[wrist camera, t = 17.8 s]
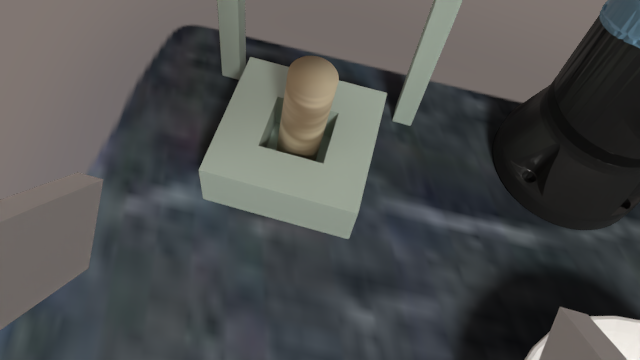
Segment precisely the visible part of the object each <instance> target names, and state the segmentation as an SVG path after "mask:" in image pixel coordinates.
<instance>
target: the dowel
mask: <svg viewBox="0 0 640 360" xmlns="http://www.w3.org/2000/svg"><path fill="white" fill-rule="evenodd" d="M338 81H339V76H338V72H337V70H336V69H335V67H334V66H333V65H332V64H331V63H330V62H329V61H327V60H325V59H323V58H321V57H317V56H304V57H301V58H298V59H296V60H295V61H294V62H293V63H292V64H291V65H290V67H289V69H288V74H287V81H286V88H285V94H284V101H283V108H282V115H281V121H280V128H279V135H278V142H277V149H276V151H279V152H283V153H287V154H290V155H294V156H298V157H301V158H305V159H309V160H312V161H316V158H317V154H318V151H319V148H320V144H321V141H322V137H323V134H324V130H325V127H326V123H327V120H328V116H329V113H330V110H331V106H332V103H333V99H334V96H335V92H336V89H337V85H338Z"/></svg>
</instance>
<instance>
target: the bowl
mask: <svg viewBox="0 0 640 360" xmlns="http://www.w3.org/2000/svg"><path fill="white" fill-rule="evenodd" d="M589 317H590V318H591V319H592V320H593V321H594V322H595V323H596V325H597V326H598V327H599V328H600V329H601V330H602V331H603V333H604V334H605V335H606V336H607V337H608V338H609V339H610V340H611V342H612V343H613V344H614V345H615V346H616V347H617V348H618V350H619V351H620V352H621V353H622V354H623V355H624V356H625V358H626V359H627V360H640V320H635V319H630V318H624V317H619V316H589ZM549 333H550V332H548V333H547V334H546V335H545V336H544V337H543V338H542V339H541V340H540V341H539V342H538V343H536V344H535V345H534V346H533V347H532V349H531V350H530V352H529V353H528V355H527V356H526V358H525V359H524V360H539V358H540V356H541V353H542V351H543V348H544V346H545V343H546V341H547V338H548V336H549Z"/></svg>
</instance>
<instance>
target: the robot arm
mask: <svg viewBox="0 0 640 360" xmlns="http://www.w3.org/2000/svg"><path fill="white" fill-rule="evenodd" d="M493 158H494V163H495V166H496V169H497V172H498V174H499V176H500V178H501V180H502V182H503V184H504V185H505V187H506V188H507V189H508V191H509V192H510V193H511V194H512V196H513V197H514V198H515V199H516V200H517V201H518V202H519V203H521V204H522V205H523V206H524V207H525V208H527V209H528V210H529V211H531V212H532V213H534V214H535V215H537V216H539V217H540V218H542V219H544V220H546V221H548V222H551V223H553V224H556V225H559V226H562V227H566V228H570V229H577V230H594V229H600V228H604V227H607V226H610V225H612V224H614V223H615V222H617V221H618V220H620V219H621V218H622V217H623V216H625V215H626V214H627V213H629V212H630V211H631V210H632V209H633V208H634V207H635V206H636V205H637V204H638V203H639V201H640V0H608V1H607V2H606V3H605V4H604V6H603V7H602V10H601V12H600V15H599V16H598V18H597V19H596V21H595V22H594V24H593V25H592V27H591V28H590V29H589V31H588V32H587V34H586V35H585V37H584V38H583V39H582V41H581V42H580V44H579V45H578V46H577V48H576V50H575V51H574V52H573V54H572V55H571V57H570V58H569V59H568V61H567V62H566V64H565V65H564V66H563V68H562V69H561V71H560V72H559V74H558V75H557V77H556V78H555V80H554V81H553V82H552V84H551V85H549V86H548V87H547V88H545V89H543V90H542V91H540V92H539V93H537V94H536V95H535V96H533V97H531V98H530V99H529V100H527V101H526V102H524V103H522V104H520V105H519V106H518V107H516V108H515V109H514V110H513V111H512V112H511V113H510V114H509V115H508V116H507V118H506V119H505V121H504V122H503V124H502V125H501V127H500V128H499V130H498V132H497V134H496V136H495V139H494V144H493ZM102 184H103V179H99V178H96V177H92V176H89V175H85V174H81V173H78V172H77V173H74V174H72V175H69V176H66V177H63V178H60V179H57V180H54V181H52V182H49V183H46V184H43V185H40V186H38V187H34V188H32V189H29V190H26V191H23V192H20V193H17V194H14V195H12V196H9V197H6V198H3V199H0V330H1V329H2V328H4V327H5V326H6V325H8V324H9V323H11V322H12V321H14V320H15V319H16V318H18V317H19V316H21V315H22V314H24V313H25V312H26V311H28V310H29V309H31V308H32V307H34V306H35V305H36V304H38V303H39V302H41V301H42V300H44V299H45V298H46V297H48V296H49V295H51V294H52V293H54V292H55V291H56V290H58V289H59V288H61V287H62V286H64V285H65V284H66V283H68V282H69V281H71V280H72V279H73V278H75V277H76V276H78V275H79V274H81V273H82V272H83V271H85V270H86V269H88V267H89V261H90V255H91V249H92V243H93V237H94V232H95V226H96V220H97V214H98V208H99V202H100V196H101V190H102ZM539 360H627V359H626V358H625V356H624V355H623V354H622V353H621V352H620V351H619V350H618V348H617V347H616V346H615V345H614V344H613V343H612V342H611V340H610V339H609V338H608V337H607V336H606V335H605V334H604V333H603V331H602V330H601V329H600V328H599V327H598V326H597V325H596V323H595V322H594V321H593V320H592V319H591V318H590V317H589V315H588V314H584V313H581V312H577V311H574V310H570V309H566V308H563V307H560V308H559V310H558V313H557V315H556V318H555V320H554V323H553V325H552V328H551V330H550V333H549V336H548V338H547V341H546V343H545V346H544V348H543V351H542V353H541V356H540V358H539Z"/></svg>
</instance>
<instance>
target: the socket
mask: <svg viewBox="0 0 640 360" xmlns="http://www.w3.org/2000/svg"><path fill="white" fill-rule="evenodd" d="M462 1H463V0H434V1H433V4H432V7H431V10H430V13H429V15H428V18H427V21H426V24H425V27H424V29H423V32H422V35H421V38H420V40H419V43H418V46H417V49H416V52H415V54H414V57H413V60H412V63H411V65H410V68H409V71H408V74H407V77H406V79H405V82H404V85H403V88H402V90H401V93H400V96H399V99H398V102H397V104H396V107H395V112H394V116H393V120H392V121H394V122H398V123H402V124H406V125H409V126H411V123H412V121H413V119H414V116H415V114H416V111H417V109H418V107H419V104H420V102H421V99H422V97H423V95H424V92H425V90H426V87H427V85H428V83H429V80H430V78H431V75H432V73H433V71H434V68H435V66H436V63H437V61H438V59H439V56H440V54H441V51H442V49H443V46H444V44H445V42H446V39H447V37H448V35H449V32H450V30H451V27H452V25H453V22H454V20H455V17H456V15H457V13H458V10H459V8H460V6H461V3H462ZM217 5H218V19H219V34H220V48H221V63H222V75H223V76H226V77H230V78H234V79H238V80H239V83H238V85H237V87H236V89H235V91H234V94H233V96H232V98H231V100H230V102H229V105H228V107H227V109H226V111H225V113H224V116H223V118H222V120H221V122H220V124H219V126H218V129H217V131H216V133H215V135H214V137H213V140H212V142H211V144H210V146H209V148H208V151H207V153H206V155H205V157H204V159H203V162H202V164H201V166H200V168H199V175H200V182H201V188H202V194H203V199H205V200H209V201H212V202H216V203H220V204H223V205H227V206H230V207H234V208H238V209H241V210H245V211H248V212H252V213H256V214H259V215H263V216H266V217H270V218H274V219H277V220H281V221H284V222H288V223H292V224H295V225H299V226H302V227H306V228H310V229H313V230H317V231H320V232H324V233H328V234H331V235H335V236H338V237H342V238H346V239H349V237H350V234H351V232H352V229H353V226H354V223H355V221H356V218H357V215H358V212H359V207H360V203H361V199H362V195H363V191H364V187H365V183H366V179H367V174H368V170H369V166H370V162H371V158H372V154H373V150H374V146H375V142H376V137H377V133H378V129H379V125H380V121H381V117H382V113H383V109H384V104H385V100H386V96H387V93H385V92H381V91H377V90H373V89H370V88H366V87H362V86H358V85H355V84H351V83H347V82H343V81H340V80H339V81H338V85H337V89H336V92H335V96H334V99H333V103H332V106H331V110H330V113H329V116H328V120H327V123H326V127H325V130H324V134H323V137H322V141H321V144H320V148H319V151H318V154H317V158H316V161H312V160H309V159H305V158H301V157H298V156H294V155H290V154H287V153H283V152H279V151H276V149H277V142H278V135H279V128H280V121H281V115H282V108H283V101H284V94H285V88H286V81H287V74H288V69H289V67H287V66H283V65H279V64H276V63H272V62H268V61H264V60H260V59H257V58H253V57H250V59H249V61H248V63H247V65H246V37H245V0H217Z"/></svg>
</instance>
